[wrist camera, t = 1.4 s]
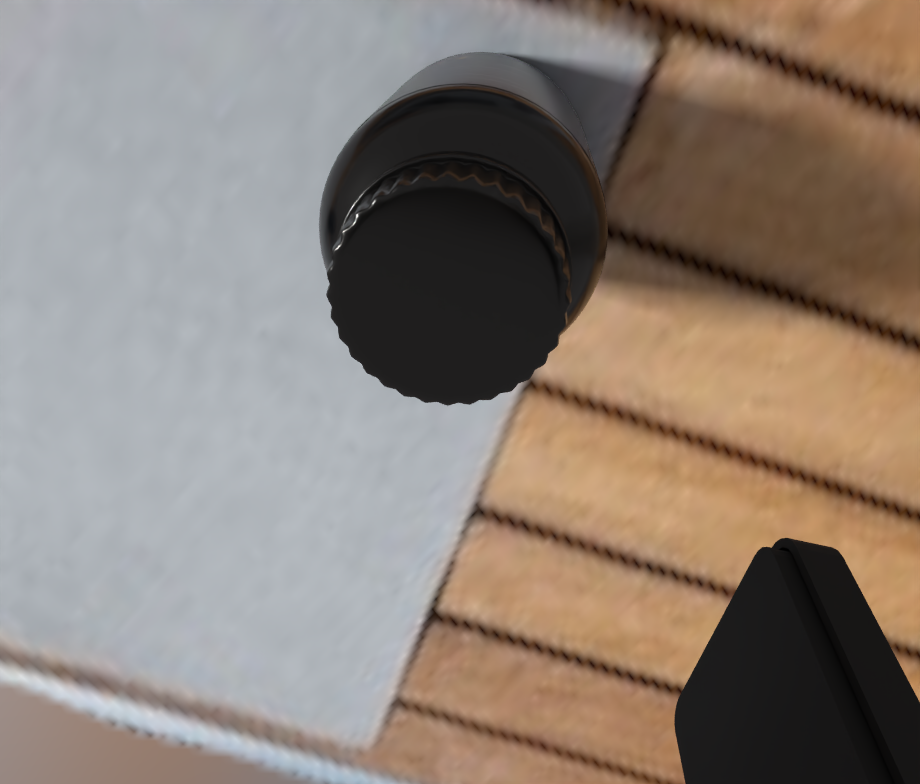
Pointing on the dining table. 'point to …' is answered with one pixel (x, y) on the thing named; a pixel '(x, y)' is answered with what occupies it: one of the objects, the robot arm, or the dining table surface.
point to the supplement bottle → (463, 230)
